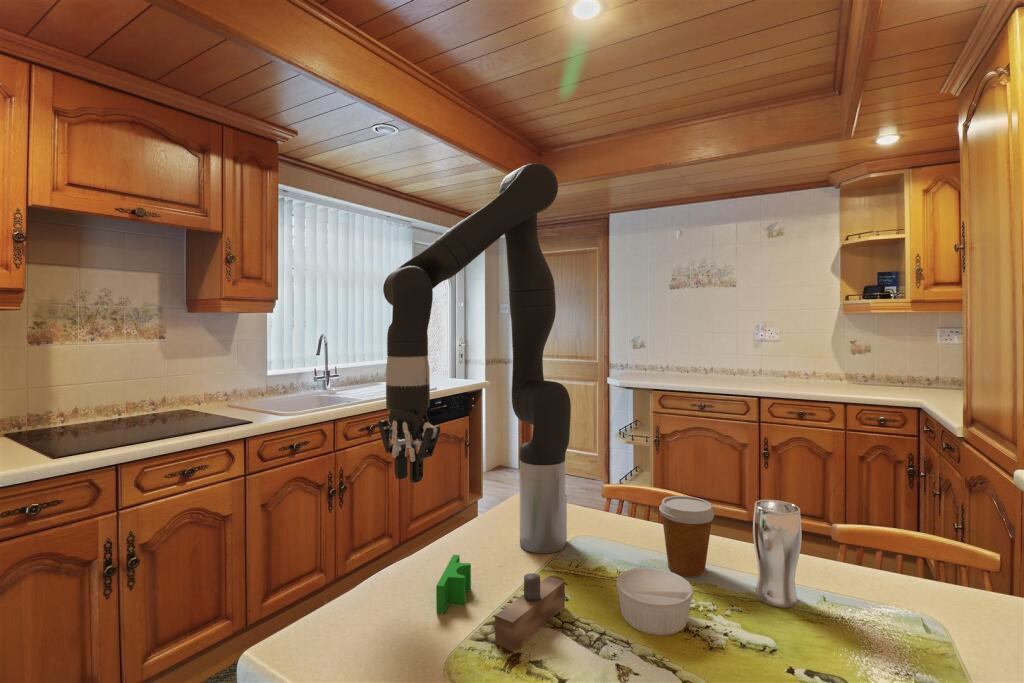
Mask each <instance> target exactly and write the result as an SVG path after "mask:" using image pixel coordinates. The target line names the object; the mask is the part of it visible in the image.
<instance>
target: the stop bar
mask: <svg viewBox="0 0 1024 683" xmlns="http://www.w3.org/2000/svg"><path fill="white" fill-rule="evenodd" d="M565 586H566V582H565V581H564V580H561V579H558V578H555V577H552V576H547V577H545V578H544V579H543V580H541V575H539V574H537V573H526V574H525V575H523V594H522V595H521V596H519V597H518V598H517V599H516V600H514V601H513V602H511V603H510V604H508V605H506V606H505V607H504V608H503V609H502V610H500V611H499V612H498V613H496V614H495V615H494V644H495V645H497V646H498V647H501V648H503V649H506V650H508V651H511V652H514V651H515V650H516V649H518V648H519V647H520V646H521V645H522V644H523V643H525V642H526V641H527V640H528V639H529V638H530V637H532V636H533V635H534V634H535V633H536V632H537V631H538V630H539V629H541V628H542V627H544V625H545V624H547V623H548V622H549V621H551V619H553V618H554V616H556V615H557V614H558V613H559V612H561V611H562V610H563V609H564V608H565V607H566V606H565V605H566V602H565V601H566V599H565V598H566V597H565V596H566V594H565V593H566V587H565Z"/></svg>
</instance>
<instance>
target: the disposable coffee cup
mask: <svg viewBox="0 0 1024 683" xmlns="http://www.w3.org/2000/svg"><path fill="white" fill-rule="evenodd" d="M658 509H659V511H660V514H661V518H662V526H663V534H664V541H665V542H664V543H665V550H666V557H667V567H668V569H669V571H670V572H672V573H675V574H677V575H679V576H681V577H687V578H688V577H689V578H690V577H691V578H695V577H701V576H703V575H704V574H705V572H706V571H705V570H706V564H707V558H708V552H709V551H708V549H709V542H710V535H711V529H712V521H713V520H714V517H715V514H716V513H715V511H714V510H713V505H712V504H711V503H710V502H709V501H707V500H705V499H703V498H698V497H695V496H689V495H673V496H667V497H664V498H663V499H662V500H661V504H660V505H659V507H658Z"/></svg>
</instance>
